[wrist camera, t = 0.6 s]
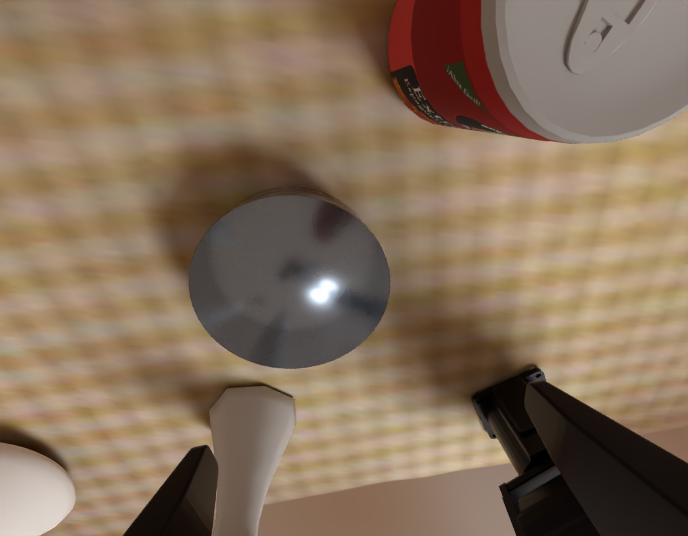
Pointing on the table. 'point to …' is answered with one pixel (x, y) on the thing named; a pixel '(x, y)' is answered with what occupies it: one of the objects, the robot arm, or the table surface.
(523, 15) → the canned food
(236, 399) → the flask
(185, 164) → the table surface
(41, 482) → the flower in vase
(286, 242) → the biscuit tin
